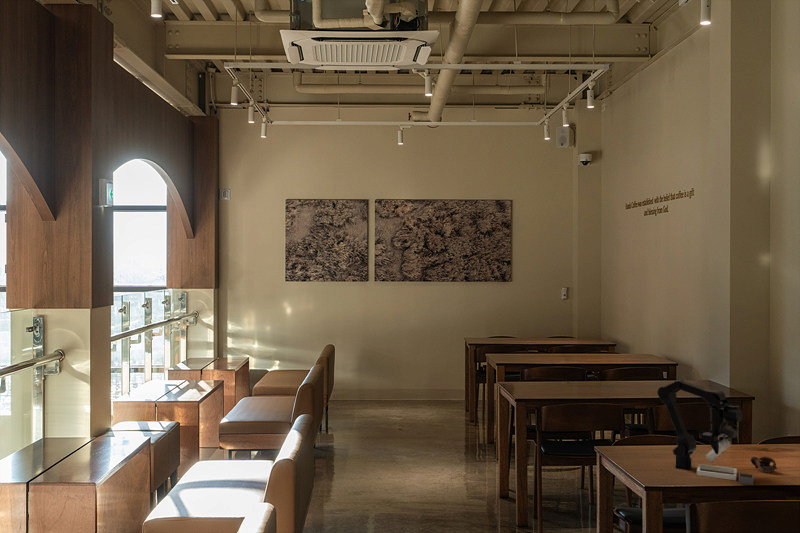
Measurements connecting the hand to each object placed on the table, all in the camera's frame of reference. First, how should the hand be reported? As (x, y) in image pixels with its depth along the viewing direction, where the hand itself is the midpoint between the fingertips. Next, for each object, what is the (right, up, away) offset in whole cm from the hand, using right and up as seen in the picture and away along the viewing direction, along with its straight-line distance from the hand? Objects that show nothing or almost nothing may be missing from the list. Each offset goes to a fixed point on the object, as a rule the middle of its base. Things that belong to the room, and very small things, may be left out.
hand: (719, 453), depth 309 cm
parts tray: (-1, -11, +1) cm, 11 cm away
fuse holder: (+7, -11, -11) cm, 17 cm away
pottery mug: (+24, -11, +8) cm, 28 cm away
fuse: (-3, -3, +4) cm, 6 cm away
